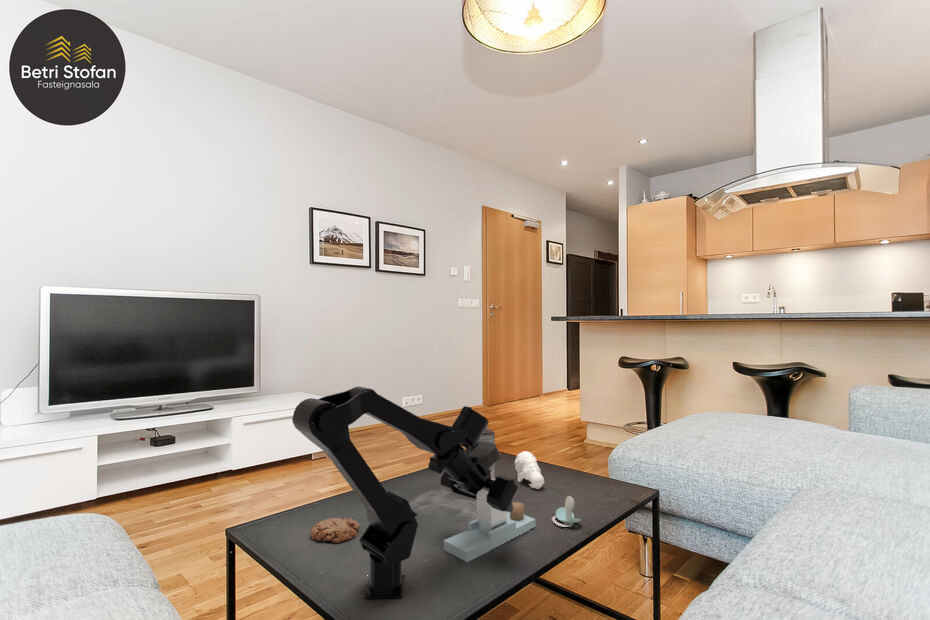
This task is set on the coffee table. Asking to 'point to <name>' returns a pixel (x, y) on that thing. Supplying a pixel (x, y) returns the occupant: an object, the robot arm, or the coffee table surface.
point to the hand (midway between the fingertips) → (495, 504)
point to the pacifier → (566, 513)
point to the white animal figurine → (528, 469)
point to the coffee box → (489, 437)
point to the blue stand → (488, 535)
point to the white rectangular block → (488, 514)
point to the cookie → (335, 530)
